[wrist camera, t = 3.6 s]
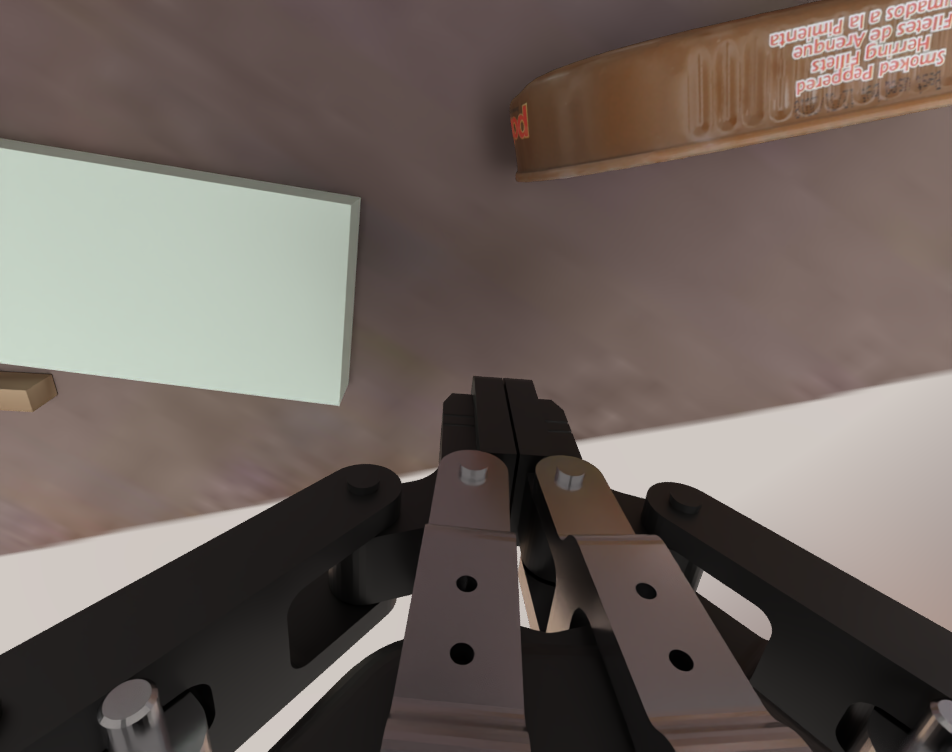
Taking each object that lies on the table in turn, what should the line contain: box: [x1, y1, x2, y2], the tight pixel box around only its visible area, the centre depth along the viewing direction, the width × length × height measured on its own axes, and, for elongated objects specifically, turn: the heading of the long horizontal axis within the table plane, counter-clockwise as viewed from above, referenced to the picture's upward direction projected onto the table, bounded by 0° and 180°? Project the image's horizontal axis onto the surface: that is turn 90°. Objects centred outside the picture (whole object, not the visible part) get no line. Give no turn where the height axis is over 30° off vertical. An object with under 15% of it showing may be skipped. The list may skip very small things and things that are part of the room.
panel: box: [0, 138, 361, 406], centre depth 20 cm, size 8×15×2 cm, turn 81°
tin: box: [510, 0, 952, 182], centre depth 15 cm, size 15×3×8 cm, turn 100°
